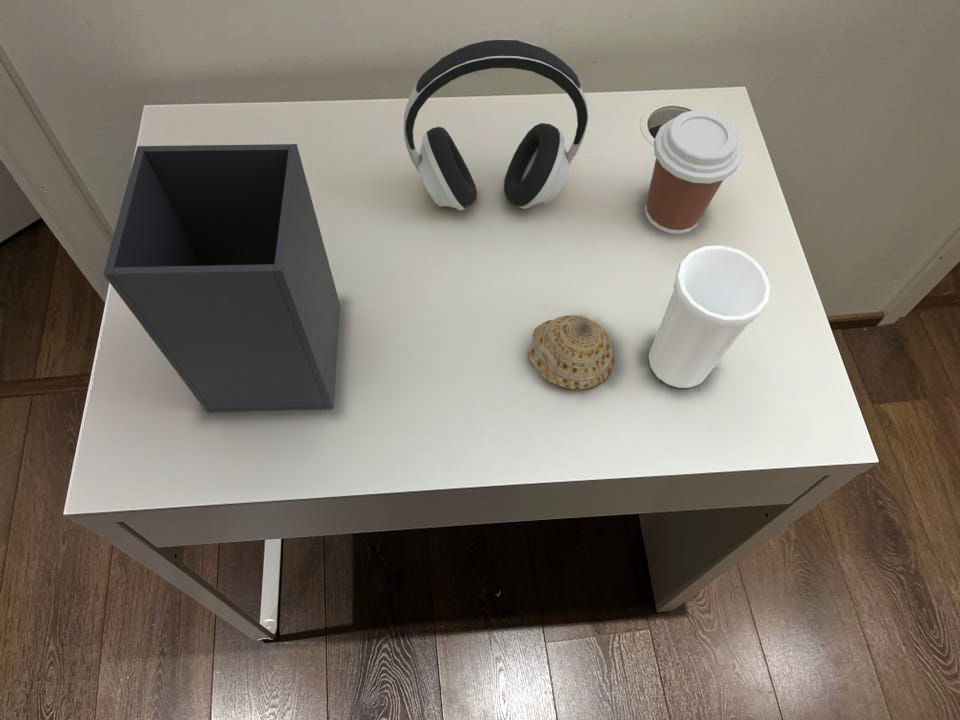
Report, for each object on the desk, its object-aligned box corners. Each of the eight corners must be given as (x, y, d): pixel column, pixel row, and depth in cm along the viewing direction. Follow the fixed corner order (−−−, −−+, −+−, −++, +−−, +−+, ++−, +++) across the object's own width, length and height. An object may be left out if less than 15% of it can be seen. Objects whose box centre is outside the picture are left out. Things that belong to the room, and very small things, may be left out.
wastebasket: (206, 412, 68) (102, 274, 48) (223, 307, 74) (137, 145, 54) (333, 408, 68) (282, 270, 49) (340, 304, 74) (296, 143, 54)
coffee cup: (617, 201, 82) (641, 120, 72) (678, 172, 85) (709, 91, 74) (665, 254, 78) (697, 178, 68) (727, 223, 81) (767, 145, 70)
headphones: (411, 227, 79) (397, 80, 62) (408, 172, 84) (395, 20, 66) (577, 219, 81) (610, 72, 63) (567, 165, 85) (595, 14, 67)
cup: (622, 355, 72) (656, 273, 60) (677, 316, 75) (721, 229, 62) (678, 413, 69) (726, 338, 56) (734, 370, 72) (792, 289, 59)
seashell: (515, 322, 71) (588, 290, 69) (531, 343, 76) (600, 314, 74) (538, 392, 67) (616, 360, 65) (554, 410, 72) (627, 381, 70)
